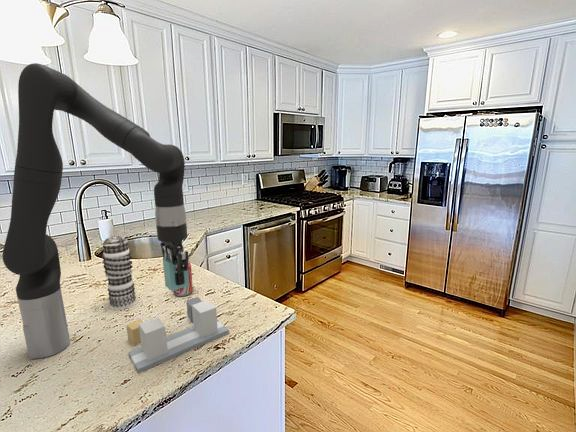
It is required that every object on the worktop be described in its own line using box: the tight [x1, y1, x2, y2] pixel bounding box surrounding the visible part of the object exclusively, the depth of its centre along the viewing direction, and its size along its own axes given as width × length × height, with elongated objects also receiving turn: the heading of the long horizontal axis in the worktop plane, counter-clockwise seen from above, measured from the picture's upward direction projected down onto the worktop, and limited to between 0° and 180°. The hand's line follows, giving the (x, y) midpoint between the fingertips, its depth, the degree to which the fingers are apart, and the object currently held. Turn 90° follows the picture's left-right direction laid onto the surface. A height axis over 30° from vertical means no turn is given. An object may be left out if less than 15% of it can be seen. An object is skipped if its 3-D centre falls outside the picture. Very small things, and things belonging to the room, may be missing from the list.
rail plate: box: [127, 299, 230, 374], centre depth 87 cm, size 26×9×9 cm, turn 131°
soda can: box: [173, 259, 194, 297], centre depth 117 cm, size 7×7×13 cm
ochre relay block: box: [125, 318, 144, 346], centre depth 90 cm, size 4×4×5 cm
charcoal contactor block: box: [186, 296, 202, 324], centre depth 101 cm, size 4×5×6 cm
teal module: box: [162, 257, 189, 292], centre depth 84 cm, size 5×4×8 cm
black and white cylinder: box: [100, 235, 137, 311], centre depth 108 cm, size 9×9×25 cm
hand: (176, 281), depth 84 cm, fingers closed on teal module, 4 cm apart
